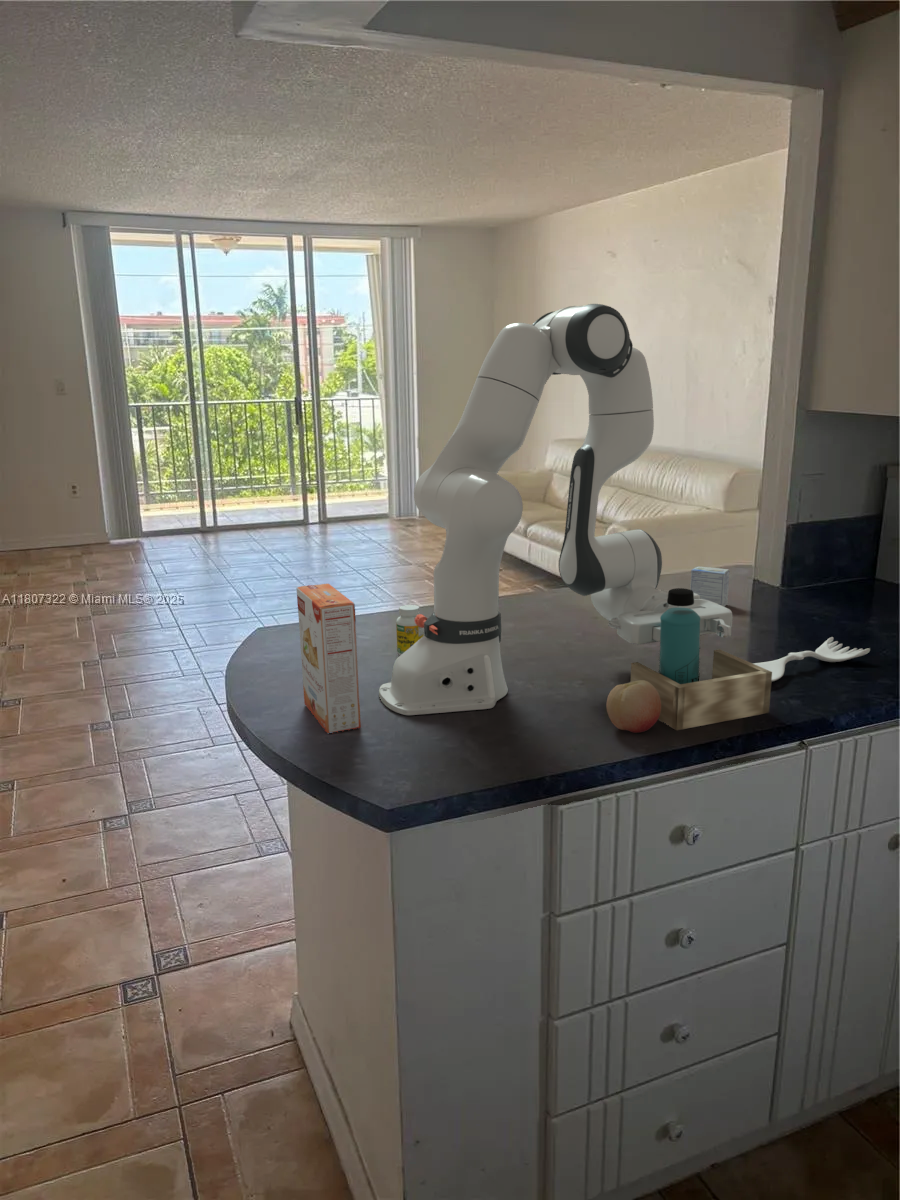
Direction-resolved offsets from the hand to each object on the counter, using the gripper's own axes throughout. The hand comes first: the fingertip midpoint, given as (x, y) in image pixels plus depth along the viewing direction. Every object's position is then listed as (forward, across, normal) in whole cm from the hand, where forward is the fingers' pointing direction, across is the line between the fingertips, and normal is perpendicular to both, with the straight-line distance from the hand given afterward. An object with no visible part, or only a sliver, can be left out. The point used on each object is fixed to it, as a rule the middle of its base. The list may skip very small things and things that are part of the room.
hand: (703, 635), depth 141 cm
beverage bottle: (-1, -4, +12) cm, 13 cm away
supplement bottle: (-47, -34, +13) cm, 59 cm away
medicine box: (-53, +43, +13) cm, 69 cm away
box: (0, 0, +12) cm, 13 cm away
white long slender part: (-9, +28, +13) cm, 32 cm away
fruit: (+3, -15, +13) cm, 20 cm away
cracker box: (-21, -57, +13) cm, 62 cm away
